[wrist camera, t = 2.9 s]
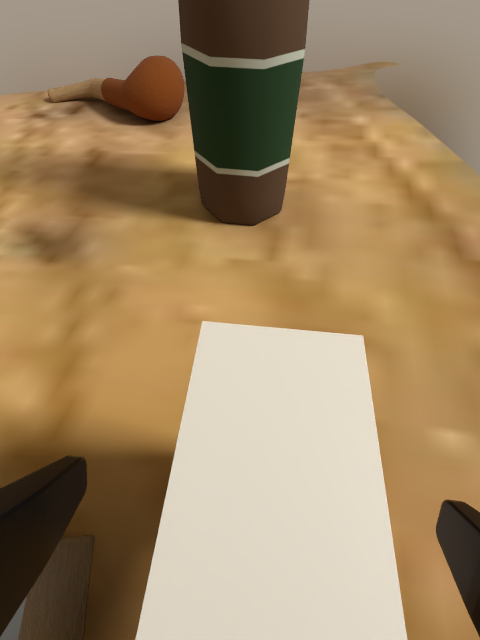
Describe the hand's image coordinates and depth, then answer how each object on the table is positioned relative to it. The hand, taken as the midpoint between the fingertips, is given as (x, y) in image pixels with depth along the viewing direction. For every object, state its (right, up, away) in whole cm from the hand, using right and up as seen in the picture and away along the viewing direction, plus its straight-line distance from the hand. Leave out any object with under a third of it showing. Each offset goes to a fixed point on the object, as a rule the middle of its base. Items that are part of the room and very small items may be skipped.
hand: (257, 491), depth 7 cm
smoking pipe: (-16, +30, +30) cm, 45 cm away
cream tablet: (0, -4, +7) cm, 8 cm away
